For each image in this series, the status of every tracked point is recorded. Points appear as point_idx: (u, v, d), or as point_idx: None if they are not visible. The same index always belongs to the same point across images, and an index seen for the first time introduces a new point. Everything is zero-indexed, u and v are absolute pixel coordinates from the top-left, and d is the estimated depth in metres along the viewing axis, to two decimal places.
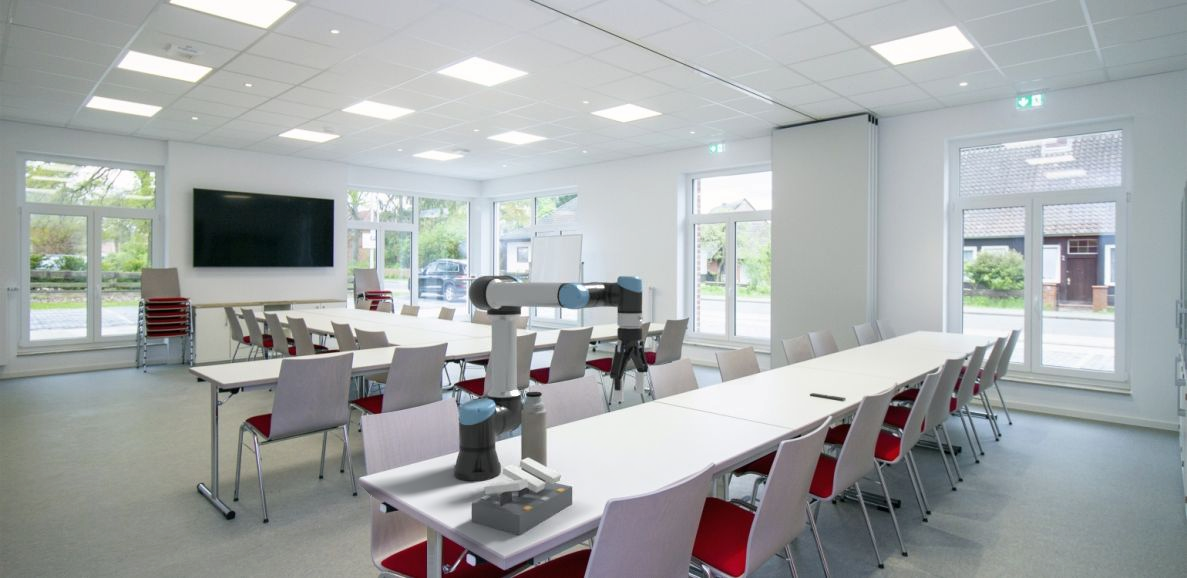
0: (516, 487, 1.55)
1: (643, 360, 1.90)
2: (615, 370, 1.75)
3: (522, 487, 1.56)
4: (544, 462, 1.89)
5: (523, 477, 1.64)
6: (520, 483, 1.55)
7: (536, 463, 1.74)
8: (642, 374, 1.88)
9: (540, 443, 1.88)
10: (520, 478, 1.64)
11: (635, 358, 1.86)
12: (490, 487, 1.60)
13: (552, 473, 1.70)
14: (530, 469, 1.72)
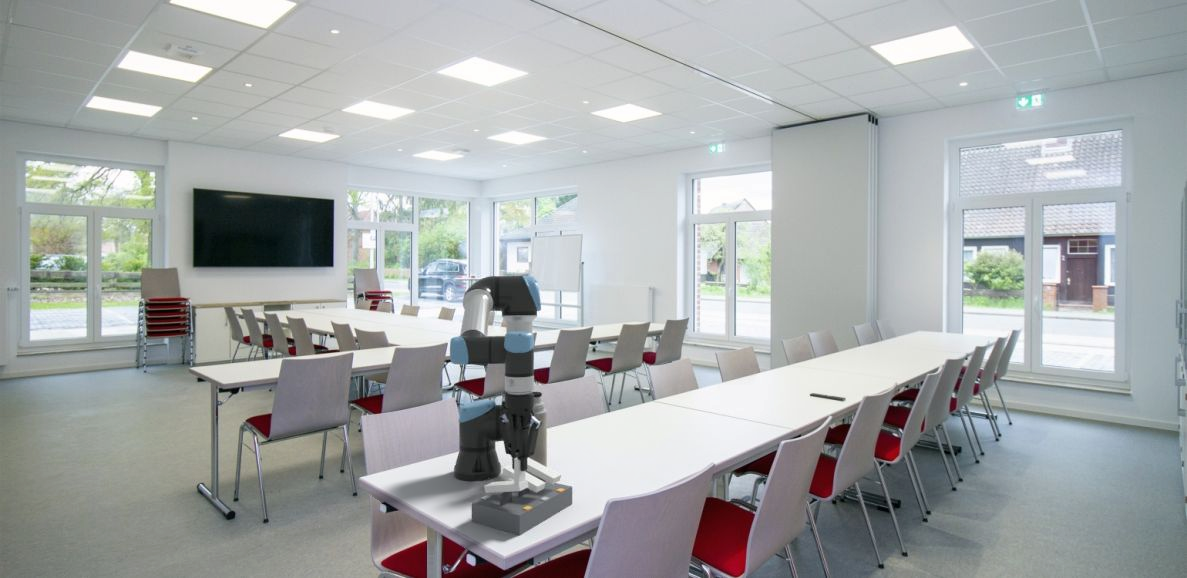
0: (517, 488, 1.55)
1: None
2: None
3: (522, 488, 1.56)
4: (544, 462, 1.89)
5: None
6: (520, 484, 1.55)
7: (536, 463, 1.74)
8: None
9: (540, 443, 1.88)
10: None
11: None
12: (490, 486, 1.60)
13: (552, 473, 1.70)
14: (530, 469, 1.72)
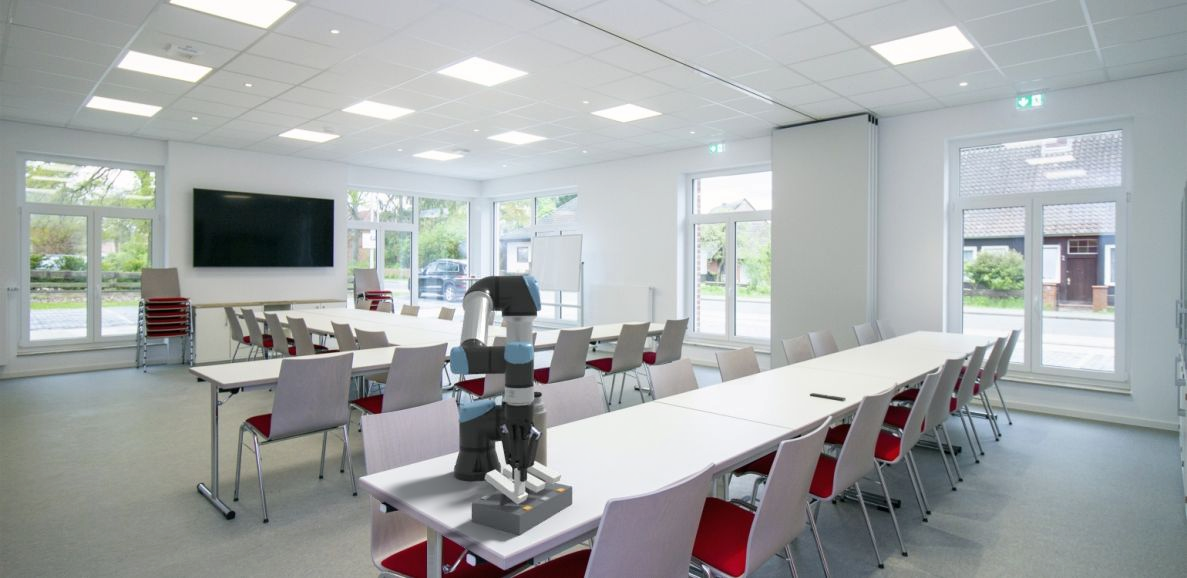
0: (516, 500, 1.55)
1: None
2: None
3: (520, 501, 1.56)
4: (544, 462, 1.89)
5: None
6: (520, 498, 1.55)
7: (536, 463, 1.74)
8: None
9: (540, 443, 1.88)
10: None
11: None
12: (491, 478, 1.59)
13: (552, 473, 1.70)
14: (530, 469, 1.72)
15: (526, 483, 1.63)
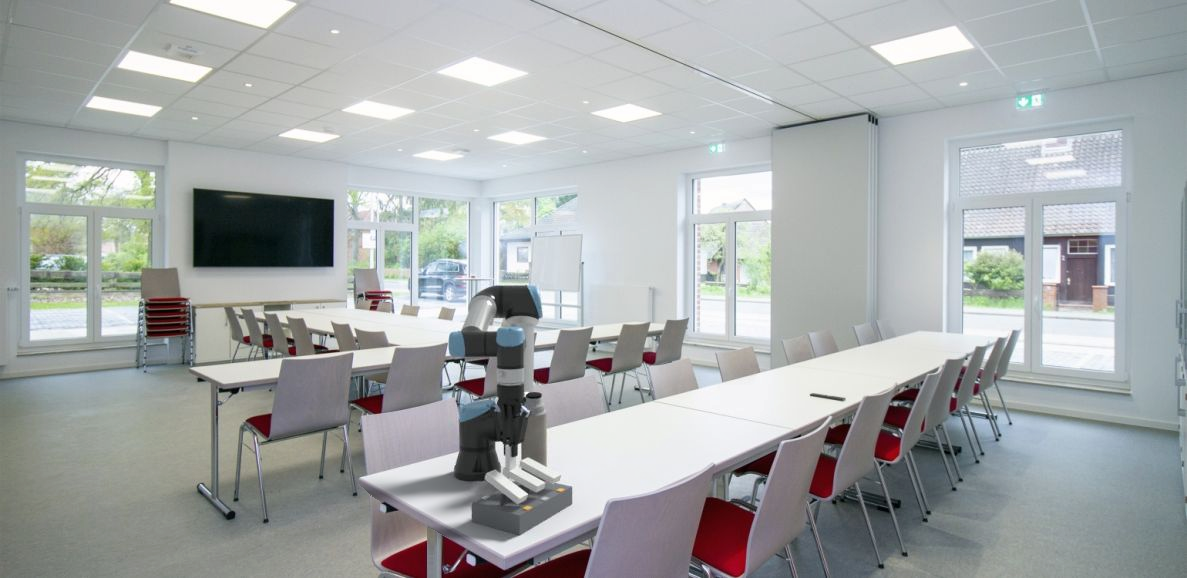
0: (516, 500, 1.55)
1: None
2: None
3: (520, 501, 1.56)
4: (544, 462, 1.89)
5: (523, 477, 1.64)
6: (520, 498, 1.55)
7: (536, 463, 1.74)
8: None
9: (540, 444, 1.87)
10: (520, 478, 1.64)
11: None
12: (491, 478, 1.59)
13: (552, 473, 1.70)
14: (530, 469, 1.72)
15: (526, 483, 1.63)
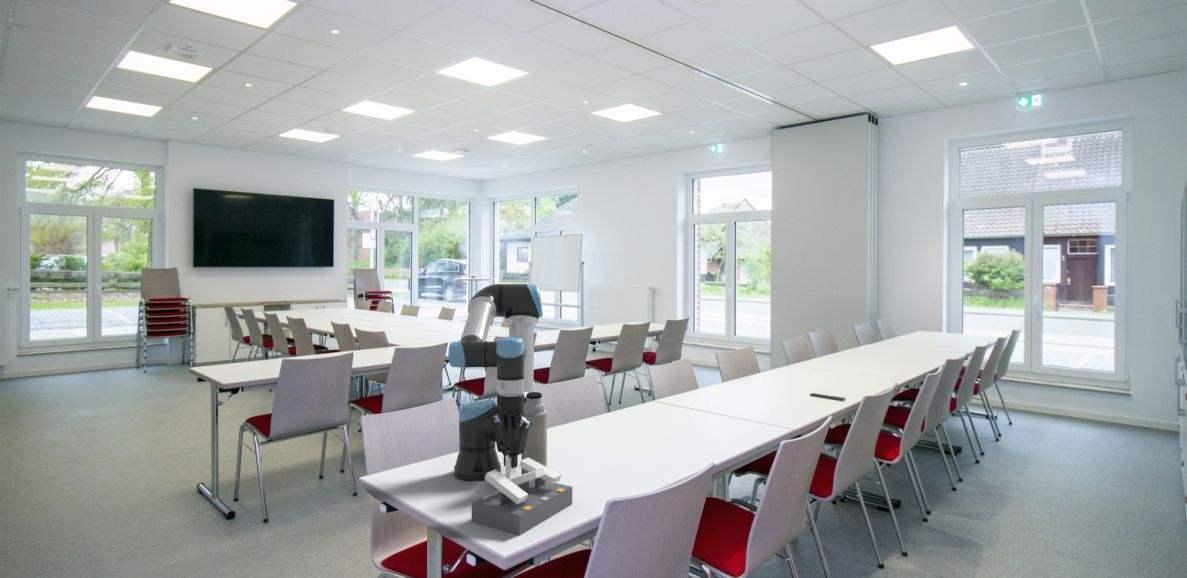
0: (516, 500, 1.55)
1: None
2: None
3: (520, 501, 1.56)
4: (544, 462, 1.89)
5: (521, 475, 1.65)
6: (520, 498, 1.55)
7: (536, 463, 1.74)
8: None
9: (540, 444, 1.87)
10: (519, 477, 1.64)
11: None
12: (491, 478, 1.59)
13: (552, 473, 1.70)
14: (530, 469, 1.72)
15: (525, 477, 1.63)
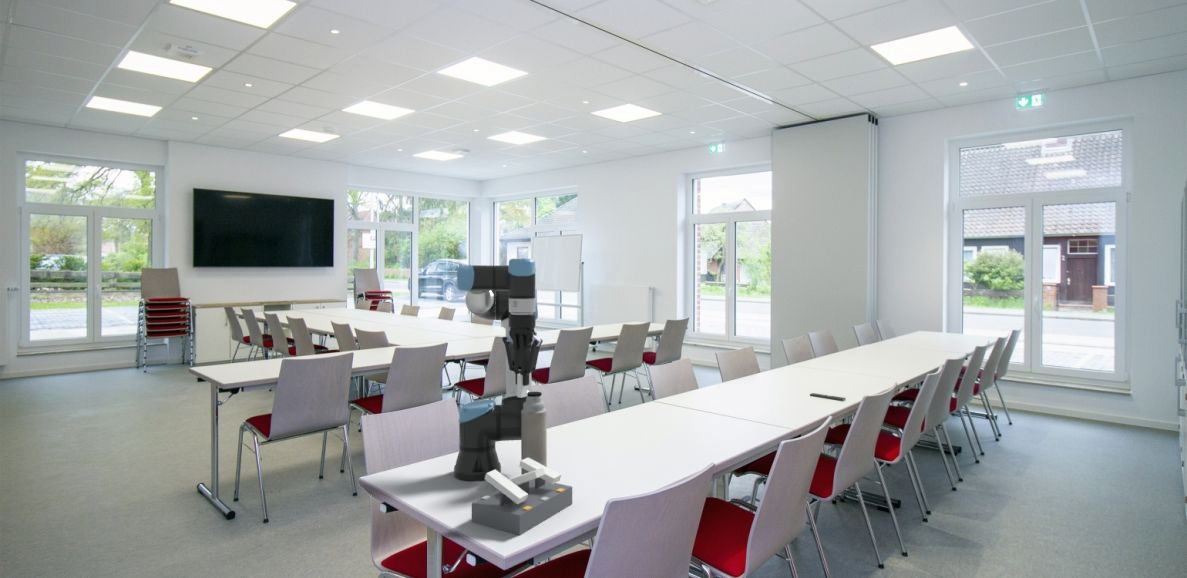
0: (516, 500, 1.55)
1: None
2: None
3: (520, 501, 1.56)
4: (544, 462, 1.90)
5: (521, 475, 1.65)
6: (520, 498, 1.55)
7: (536, 463, 1.74)
8: None
9: (540, 443, 1.88)
10: (519, 477, 1.64)
11: None
12: (491, 478, 1.59)
13: (552, 473, 1.70)
14: (530, 469, 1.72)
15: (525, 477, 1.63)
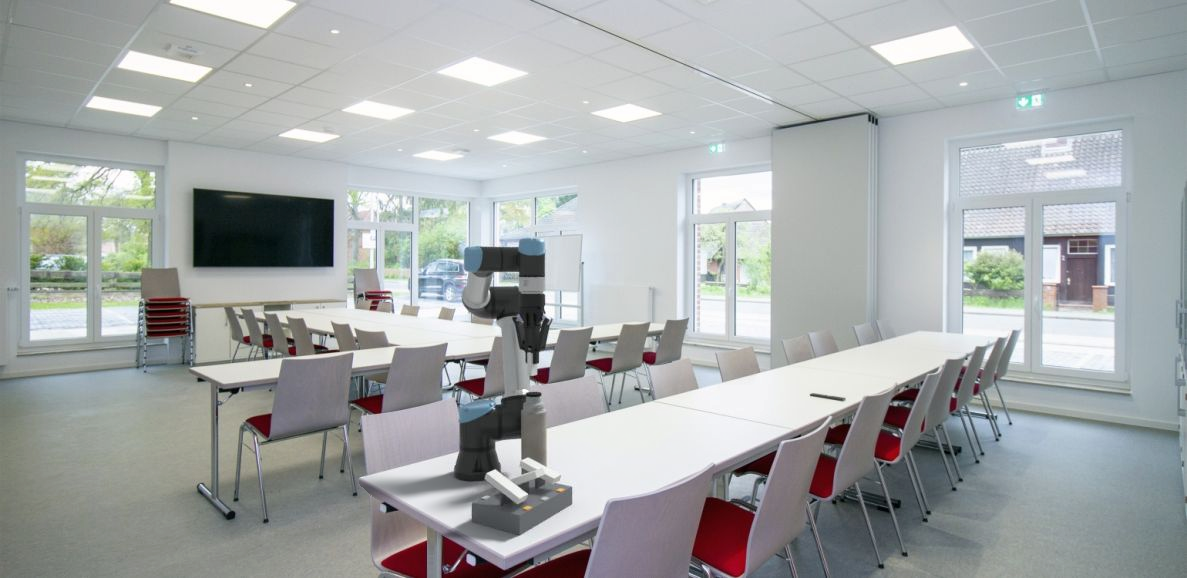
0: (516, 500, 1.55)
1: None
2: None
3: (520, 501, 1.56)
4: (544, 462, 1.89)
5: (521, 475, 1.65)
6: (520, 498, 1.55)
7: (536, 463, 1.74)
8: None
9: (540, 443, 1.88)
10: (519, 477, 1.64)
11: None
12: (491, 478, 1.59)
13: (552, 473, 1.70)
14: (530, 469, 1.72)
15: (525, 477, 1.63)
